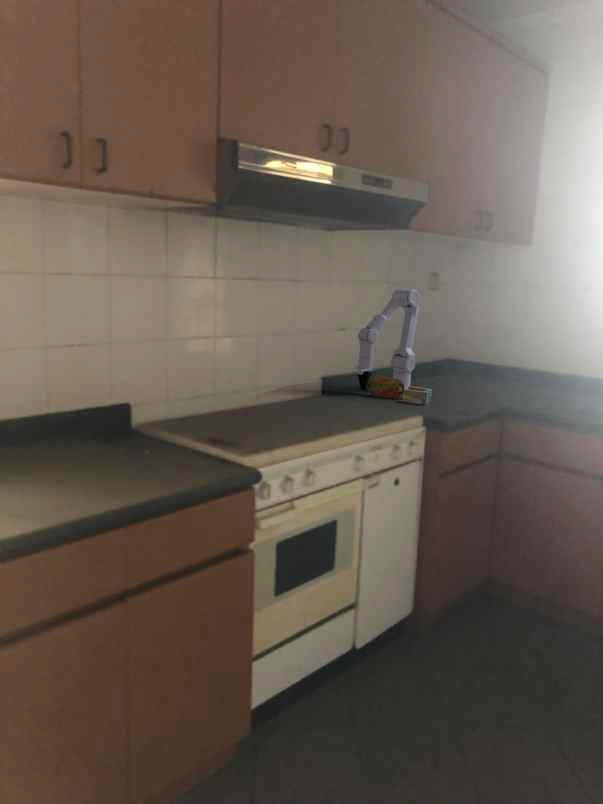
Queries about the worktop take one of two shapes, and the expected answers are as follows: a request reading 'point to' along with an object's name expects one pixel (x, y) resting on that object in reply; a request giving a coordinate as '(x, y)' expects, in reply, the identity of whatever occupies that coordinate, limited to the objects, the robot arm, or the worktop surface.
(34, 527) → the worktop surface
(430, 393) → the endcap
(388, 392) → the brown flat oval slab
